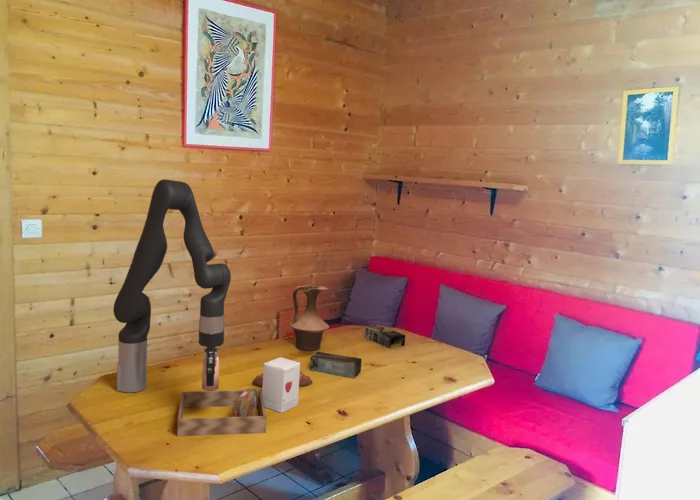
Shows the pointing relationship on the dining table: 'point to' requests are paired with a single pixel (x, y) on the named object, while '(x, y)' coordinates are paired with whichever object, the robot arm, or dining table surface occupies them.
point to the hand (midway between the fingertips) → (210, 381)
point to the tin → (245, 404)
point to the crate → (220, 423)
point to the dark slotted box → (383, 335)
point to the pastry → (303, 380)
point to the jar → (216, 377)
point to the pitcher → (308, 320)
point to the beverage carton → (335, 364)
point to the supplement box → (281, 384)
